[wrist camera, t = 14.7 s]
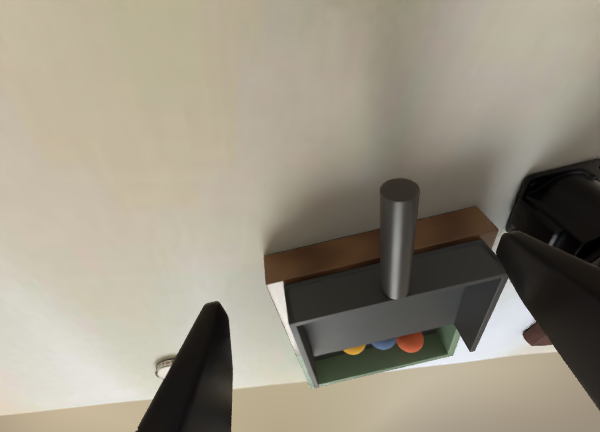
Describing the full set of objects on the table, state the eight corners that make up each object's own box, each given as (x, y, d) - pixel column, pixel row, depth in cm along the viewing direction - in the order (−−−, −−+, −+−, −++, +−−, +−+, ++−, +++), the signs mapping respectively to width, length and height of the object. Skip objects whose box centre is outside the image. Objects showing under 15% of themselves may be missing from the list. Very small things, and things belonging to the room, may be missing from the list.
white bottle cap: (179, 377, 37) (178, 383, 37) (149, 370, 35) (147, 376, 35) (199, 364, 36) (199, 370, 35) (169, 356, 34) (168, 362, 33)
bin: (452, 292, 34) (467, 316, 32) (441, 333, 41) (453, 355, 38) (292, 329, 34) (296, 356, 32) (306, 365, 41) (310, 389, 38)
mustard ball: (359, 315, 35) (367, 334, 32) (364, 336, 36) (371, 357, 33) (333, 321, 35) (338, 341, 32) (338, 342, 36) (343, 364, 33)
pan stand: (476, 205, 26) (499, 229, 23) (452, 292, 34) (467, 316, 32) (263, 256, 26) (265, 284, 23) (292, 329, 34) (296, 356, 32)
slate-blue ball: (401, 335, 32) (401, 351, 34) (390, 311, 35) (390, 327, 37) (372, 342, 32) (373, 358, 34) (363, 317, 35) (365, 333, 37)
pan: (456, 319, 32) (475, 352, 29) (308, 354, 32) (314, 389, 29) (515, 133, 18) (563, 163, 15) (250, 196, 18) (252, 237, 15)
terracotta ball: (418, 316, 36) (421, 339, 34) (424, 334, 38) (428, 357, 35) (391, 319, 38) (392, 342, 35) (398, 337, 39) (400, 359, 36)
